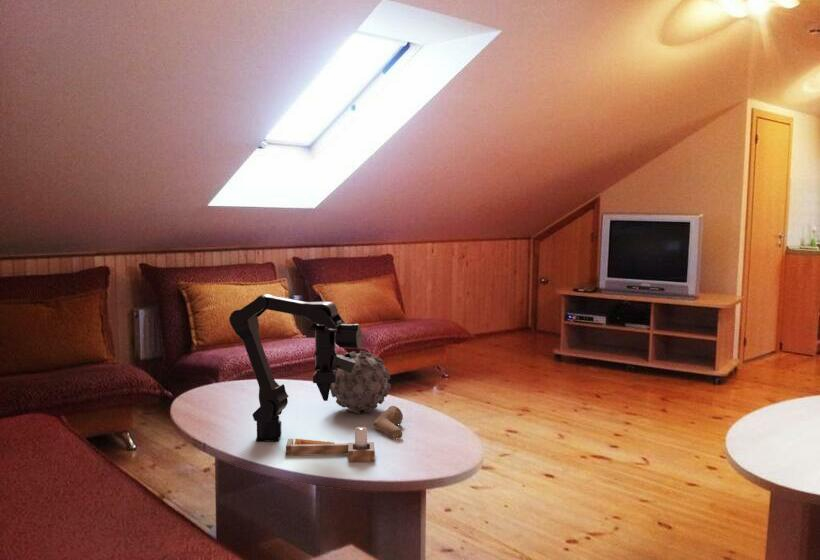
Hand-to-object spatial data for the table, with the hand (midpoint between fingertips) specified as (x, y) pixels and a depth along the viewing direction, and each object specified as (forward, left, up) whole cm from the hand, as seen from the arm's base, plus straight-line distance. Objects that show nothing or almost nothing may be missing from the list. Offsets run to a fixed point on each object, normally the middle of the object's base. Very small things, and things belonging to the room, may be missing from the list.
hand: (325, 400), depth 203 cm
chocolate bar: (-3, -3, -13) cm, 14 cm away
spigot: (+10, -12, -12) cm, 20 cm away
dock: (+1, -9, -13) cm, 16 cm away
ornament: (+10, +33, -13) cm, 36 cm away
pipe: (+20, +10, -13) cm, 26 cm away
